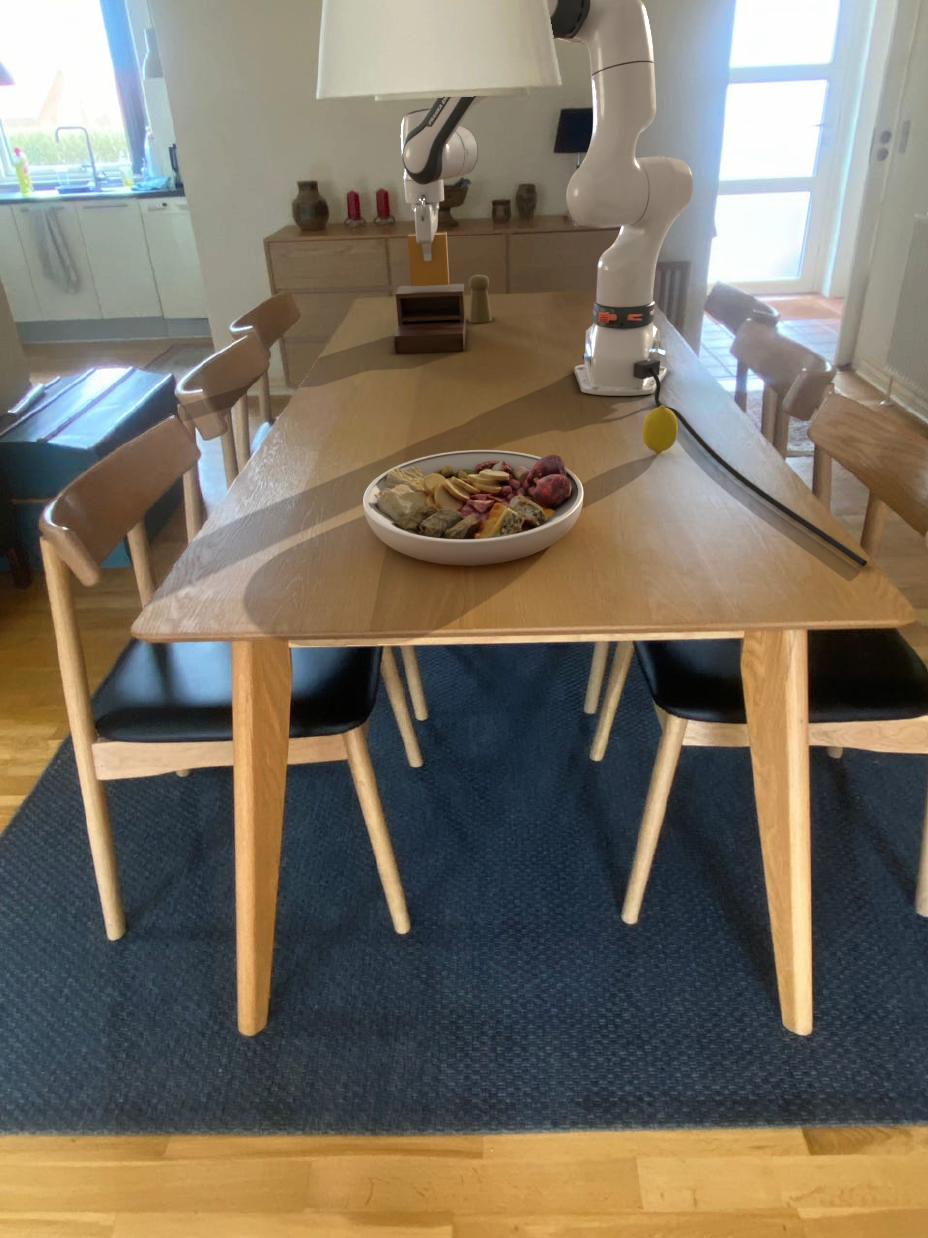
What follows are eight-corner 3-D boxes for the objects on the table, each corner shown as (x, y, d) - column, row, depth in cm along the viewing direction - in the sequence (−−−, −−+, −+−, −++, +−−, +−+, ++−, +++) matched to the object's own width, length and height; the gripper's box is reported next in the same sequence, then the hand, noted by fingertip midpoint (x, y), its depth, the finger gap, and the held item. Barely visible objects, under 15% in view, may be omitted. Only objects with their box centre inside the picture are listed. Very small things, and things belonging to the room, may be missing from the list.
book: (448, 284, 195) (445, 234, 189) (410, 286, 196) (406, 235, 190) (449, 281, 198) (446, 231, 192) (412, 282, 199) (408, 233, 193)
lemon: (634, 451, 134) (637, 403, 130) (662, 445, 136) (666, 397, 132) (653, 462, 130) (657, 413, 126) (682, 456, 132) (687, 407, 127)
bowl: (411, 599, 99) (406, 541, 94) (340, 505, 122) (333, 455, 118) (624, 543, 108) (628, 488, 104) (521, 466, 131) (520, 418, 127)
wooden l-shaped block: (463, 351, 190) (461, 301, 184) (395, 353, 191) (390, 304, 185) (466, 329, 207) (464, 283, 201) (402, 332, 208) (399, 286, 202)
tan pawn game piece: (477, 316, 218) (475, 272, 212) (496, 318, 215) (495, 273, 209) (464, 321, 214) (462, 276, 208) (483, 323, 211) (481, 278, 205)
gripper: (435, 197, 178) (439, 266, 185) (440, 187, 195) (444, 250, 202) (406, 198, 178) (411, 267, 185) (414, 189, 195) (418, 252, 203)
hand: (428, 258), depth 194 cm, fingers closed on book, 4 cm apart
